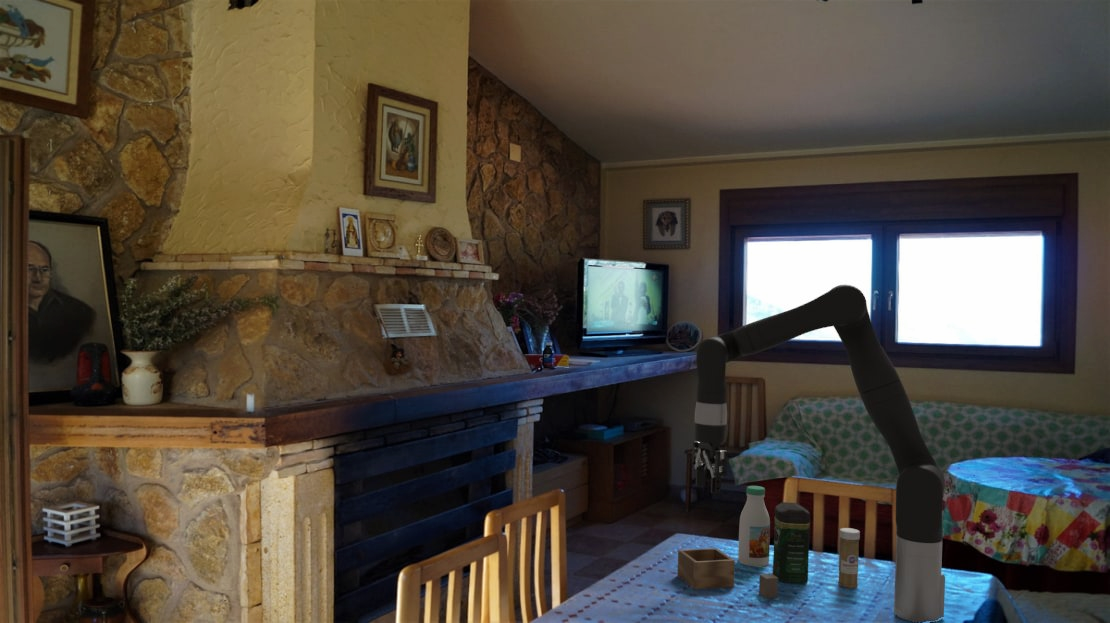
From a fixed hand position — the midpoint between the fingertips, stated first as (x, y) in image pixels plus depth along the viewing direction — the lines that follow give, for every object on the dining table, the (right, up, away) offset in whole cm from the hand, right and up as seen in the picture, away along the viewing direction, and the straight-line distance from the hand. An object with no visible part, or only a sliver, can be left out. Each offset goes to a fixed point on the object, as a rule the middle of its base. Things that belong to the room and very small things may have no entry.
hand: (707, 489), depth 205 cm
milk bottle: (+15, -23, +17) cm, 32 cm away
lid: (+12, -24, -9) cm, 28 cm away
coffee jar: (+21, -23, +5) cm, 32 cm away
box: (-1, -23, 0) cm, 23 cm away
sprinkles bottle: (+34, -24, +2) cm, 42 cm away
